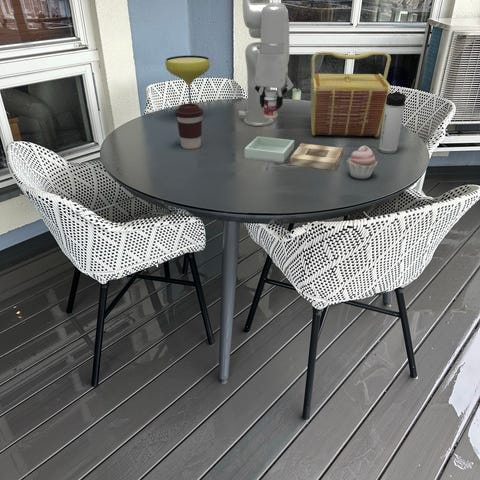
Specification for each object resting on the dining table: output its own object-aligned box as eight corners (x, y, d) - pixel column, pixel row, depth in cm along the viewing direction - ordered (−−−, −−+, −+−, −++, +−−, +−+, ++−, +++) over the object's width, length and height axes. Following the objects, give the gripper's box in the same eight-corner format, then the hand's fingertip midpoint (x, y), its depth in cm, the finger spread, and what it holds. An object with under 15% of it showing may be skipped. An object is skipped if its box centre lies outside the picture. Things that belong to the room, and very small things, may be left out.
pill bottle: (262, 114, 156) (263, 89, 151) (276, 113, 156) (277, 89, 152) (264, 118, 152) (265, 92, 147) (278, 117, 152) (279, 92, 147)
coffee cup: (209, 143, 170) (207, 103, 162) (196, 152, 163) (193, 110, 155) (186, 140, 174) (183, 100, 166) (172, 148, 166) (169, 107, 158)
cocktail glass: (189, 111, 208) (185, 54, 195) (220, 118, 199) (218, 57, 186) (161, 121, 196) (155, 60, 183) (193, 128, 187) (189, 64, 174)
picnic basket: (374, 122, 192) (385, 46, 177) (385, 142, 170) (399, 57, 155) (305, 120, 195) (310, 46, 179) (307, 140, 173) (313, 57, 157)
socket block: (290, 164, 152) (290, 157, 150) (300, 150, 164) (301, 143, 162) (334, 170, 147) (335, 163, 146) (342, 154, 159) (343, 148, 158)
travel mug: (396, 148, 164) (406, 92, 154) (396, 154, 159) (406, 97, 148) (379, 146, 166) (387, 91, 156) (377, 152, 161) (386, 95, 150)
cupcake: (357, 183, 138) (361, 152, 133) (339, 172, 146) (343, 142, 140) (381, 178, 141) (386, 147, 136) (363, 168, 149) (367, 138, 143)
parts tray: (244, 158, 157) (244, 148, 155) (257, 145, 168) (257, 136, 167) (283, 163, 153) (283, 153, 151) (293, 149, 164) (294, 140, 162)
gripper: (243, 49, 142) (243, 107, 152) (295, 52, 137) (292, 112, 147) (251, 46, 148) (250, 102, 158) (301, 48, 143) (298, 106, 153)
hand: (271, 106), depth 152 cm, fingers closed on pill bottle, 4 cm apart
